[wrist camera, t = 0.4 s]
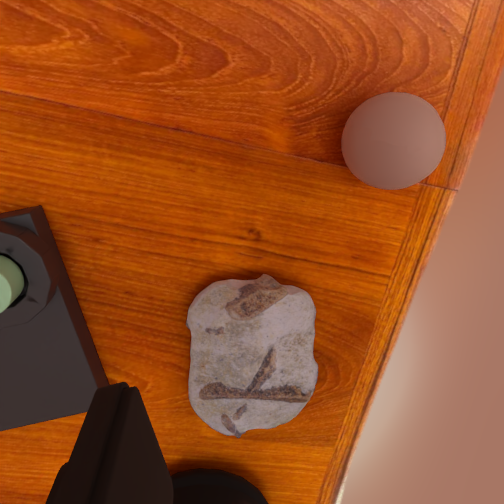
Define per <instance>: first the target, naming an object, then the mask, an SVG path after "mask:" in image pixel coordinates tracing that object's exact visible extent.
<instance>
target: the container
mask: <svg viewBox="0 0 504 504" xmlns="http://www.w3.org/2000/svg"><path fill="white" fill-rule="evenodd" d="M171 479H172V484H173V504H268V503H267V501H266V499H265V498H264V496H263V495H262V493H261V492H260V491H259V490H258V489H257V488H256V487H255V486H253V485H252V484H251V483H249V482H248V481H247V480H245V479H244V478H242V477H240V476H237V475H234V474H231V473H228V472H225V471H223V470H214V469H195V470H189V471H184V472H179V473H176V474H174V475H172V476H171Z"/></svg>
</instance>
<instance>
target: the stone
mask: <svg viewBox="0 0 504 504" xmlns="http://www.w3.org/2000/svg"><path fill="white" fill-rule="evenodd" d="M315 315H316V308H315V305H314V303H313V301H312V299H311V297H310V295H309V294H308V293H307V292H306V291H304V290H303V289H300V288H298V287H295V286H292V285H281V284H280V283H278V282H277V281H276V280H275V279H274V278H272V277H271V276H269V275H266V274H263V275H262V276H261V277H260V278H258V279H255V280H235V279H229V280H222V281H216V282H214V283H212V284H211V285H209V286H207V287H206V288H205V289H204V290H202V291H201V292H200V293H199V294H198V295H197V296H196V297H195V299H194V301H193V302H192V303H191V305H190V307H189V309H188V316H187V320H186V326H187V327H188V329H190V330H191V336H192V338H191V348H190V357H191V363H190V372H189V382H188V385H189V400H190V403H191V406H192V408H193V409H194V411H195V412H196V414H197V415H198V416H199V417H200V418H201V419H202V420H203V421H204V422H205V423H207V424H208V425H209V426H210V427H211V428H213V429H214V430H216V431H218V432H220V433H223V434H225V435H227V436H230V435H235V436H236V437H237V438H240V436H241V435H242V434H243V433H245V432H246V430H250V429H257V428H264V429H269V428H274V427H276V426H278V425H280V424H284V423H287V422H289V421H290V420H291V419H293V418H294V417H295V416H296V415H297V414H298V413H299V412H300V411H301V410H302V409H303V408H304V407H305V405H306V403H307V402H308V401H309V400H310V397H311V396H312V394H313V392H314V389H315V384H316V383H317V375H318V364H317V363H316V362H315V359H314V357H313V343H314V337H315V329H314V320H315Z"/></svg>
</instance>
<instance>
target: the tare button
mask: <svg viewBox="0 0 504 504" xmlns="http://www.w3.org/2000/svg"><path fill="white" fill-rule="evenodd" d="M23 287H24V277H23V274H22V271H21V269H20V268H19V267H18V265H17V264H16V263H15V262H13V261H12V260H11V259H9V258H7V257H5V256H2V255H0V313H1V312H3V311H4V310H6V309H7V307H8V306H9V305H10V304H11V303H12V302H13V301H14V300H15V299H16V298H17V297H18V296H19V295H20V294H21V292H22V290H23Z"/></svg>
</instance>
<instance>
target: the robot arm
mask: <svg viewBox="0 0 504 504" xmlns="http://www.w3.org/2000/svg"><path fill="white" fill-rule="evenodd" d="M46 504H173V484H172V479H171V476H170V474H169V471H168V468H167V465H166V463H165V460H164V457H163V455H162V452H161V449H160V447H159V444H158V441H157V438H156V436H155V433H154V430H153V428H152V425H151V422H150V420H149V417H148V414H147V411H146V409H145V406H144V403H143V401H142V398H141V395H140V393H139V390H138V388H137V387H135V386H134V387H130V388H129V386H128V384H127V383H126V382H121V383H117V384H113V385H108V386H104V387H100V388H98V389H97V390H96V392H95V394H94V397H93V399H92V402H91V404H90V407H89V410H88V412H87V415H86V417H85V420H84V423H83V425H82V428H81V430H80V433H79V436H78V438H77V441H76V443H75V446H74V449H73V451H72V454H71V457H70V459H69V462H68V463H65V464H64V465H63V466H62V467H61V468H60V470H59V472H58V474H57V476H56V479H55V481H54V484H53V486H52V489H51V491H50V494H49V496H48V499H47V501H46Z"/></svg>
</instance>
